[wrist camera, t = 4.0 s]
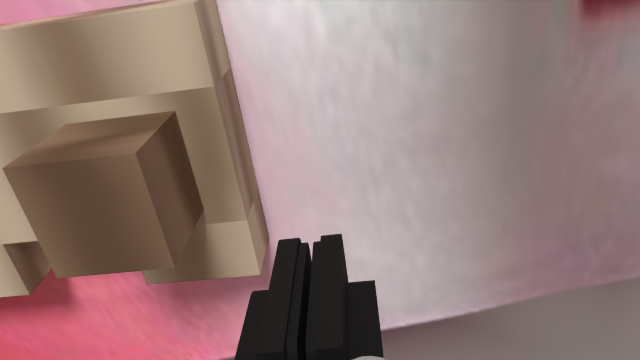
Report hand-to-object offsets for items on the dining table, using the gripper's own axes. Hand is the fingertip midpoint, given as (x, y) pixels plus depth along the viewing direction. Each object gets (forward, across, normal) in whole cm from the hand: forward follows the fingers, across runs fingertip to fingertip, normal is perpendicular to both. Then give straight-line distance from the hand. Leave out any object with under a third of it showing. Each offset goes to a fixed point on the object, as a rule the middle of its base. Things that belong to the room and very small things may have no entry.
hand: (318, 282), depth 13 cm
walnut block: (+7, +8, -1) cm, 11 cm away
